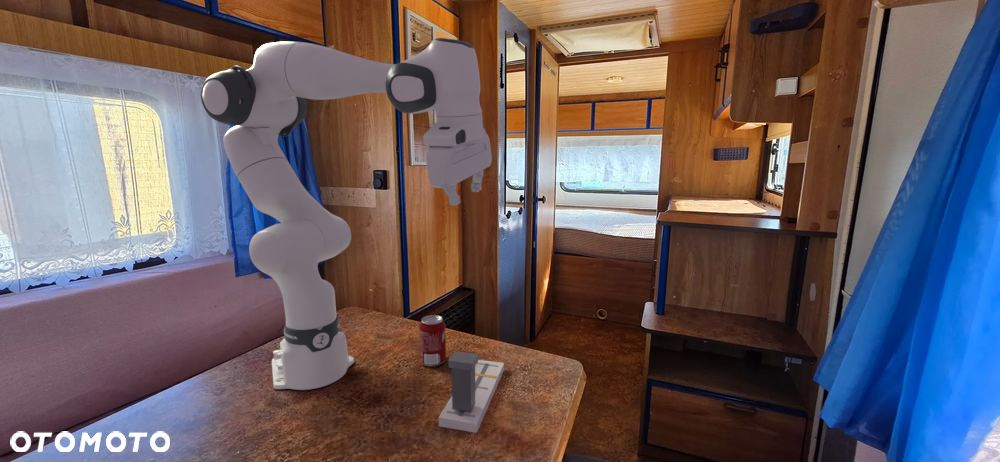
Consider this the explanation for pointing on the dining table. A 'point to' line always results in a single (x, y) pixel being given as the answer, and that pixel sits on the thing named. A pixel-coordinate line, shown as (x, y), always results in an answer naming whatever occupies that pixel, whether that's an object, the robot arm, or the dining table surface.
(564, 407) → the dining table surface
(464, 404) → the slider knob
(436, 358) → the soda can
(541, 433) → the dining table surface
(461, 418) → the slider box
